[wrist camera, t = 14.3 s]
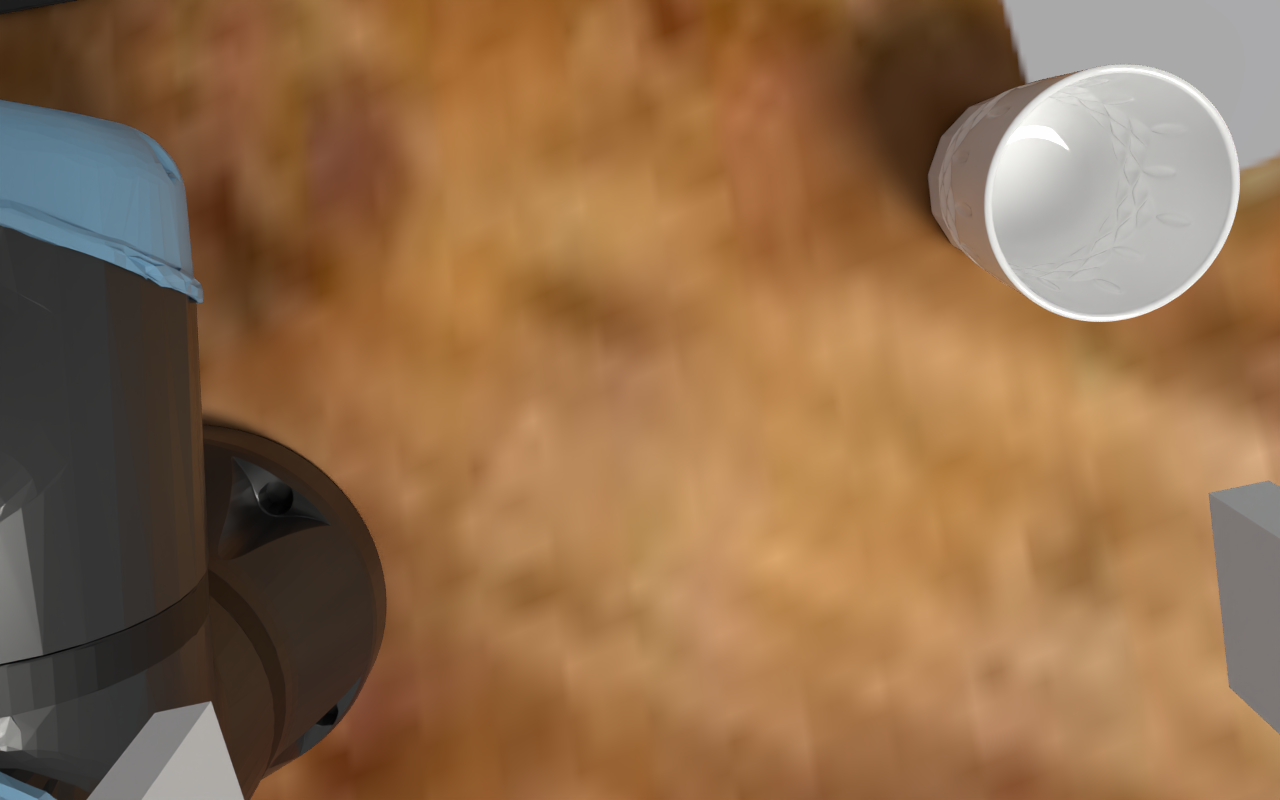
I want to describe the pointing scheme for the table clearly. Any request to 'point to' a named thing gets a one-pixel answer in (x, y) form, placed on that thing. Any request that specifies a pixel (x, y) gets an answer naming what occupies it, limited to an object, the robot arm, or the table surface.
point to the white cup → (1090, 189)
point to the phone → (26, 4)
